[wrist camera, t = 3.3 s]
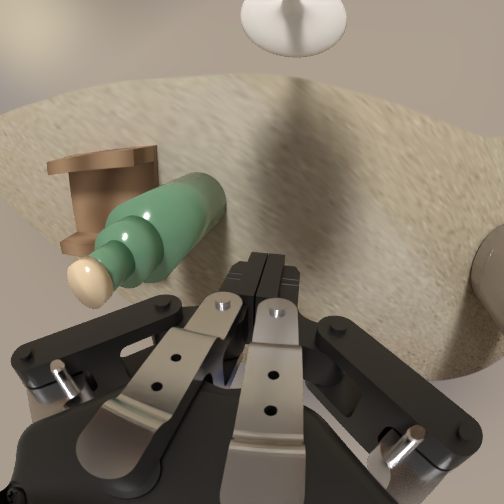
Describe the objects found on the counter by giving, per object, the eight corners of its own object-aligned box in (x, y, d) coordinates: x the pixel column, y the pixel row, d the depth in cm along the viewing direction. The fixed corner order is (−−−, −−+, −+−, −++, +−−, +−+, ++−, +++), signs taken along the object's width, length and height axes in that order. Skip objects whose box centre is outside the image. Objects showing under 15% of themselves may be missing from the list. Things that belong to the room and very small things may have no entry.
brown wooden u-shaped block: (156, 145, 23) (133, 149, 19) (164, 249, 27) (145, 266, 24) (70, 156, 25) (46, 162, 21) (82, 240, 29) (62, 253, 26)
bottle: (225, 172, 23) (115, 238, 9) (226, 230, 25) (140, 343, 12) (171, 172, 24) (39, 231, 10) (174, 226, 26) (66, 318, 12)
